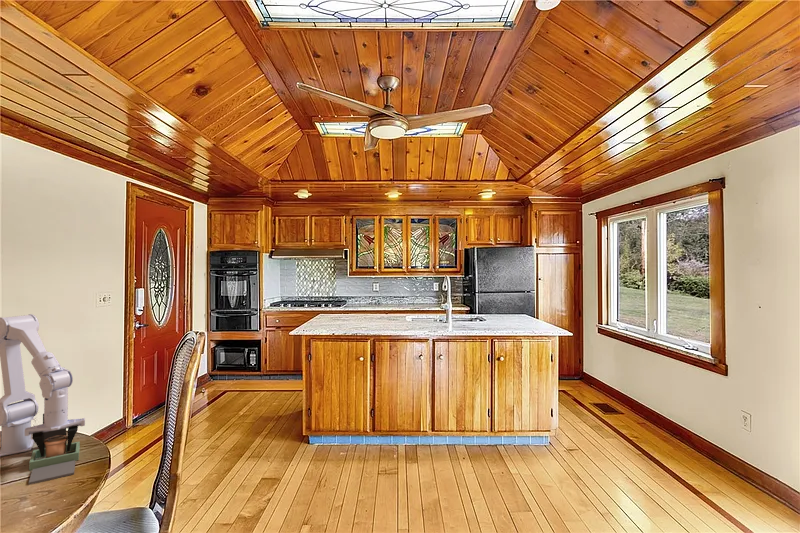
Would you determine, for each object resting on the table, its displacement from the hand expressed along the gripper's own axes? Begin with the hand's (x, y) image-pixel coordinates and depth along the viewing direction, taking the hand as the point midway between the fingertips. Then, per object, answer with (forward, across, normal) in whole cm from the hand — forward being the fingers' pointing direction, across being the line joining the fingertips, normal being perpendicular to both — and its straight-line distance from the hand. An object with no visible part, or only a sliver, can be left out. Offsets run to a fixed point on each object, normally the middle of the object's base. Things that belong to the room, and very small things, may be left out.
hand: (55, 452), depth 131 cm
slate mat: (+2, 0, -10) cm, 10 cm away
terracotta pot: (+2, 0, 0) cm, 2 cm away
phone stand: (+2, -1, +10) cm, 11 cm away
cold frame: (+2, 0, 0) cm, 2 cm away
